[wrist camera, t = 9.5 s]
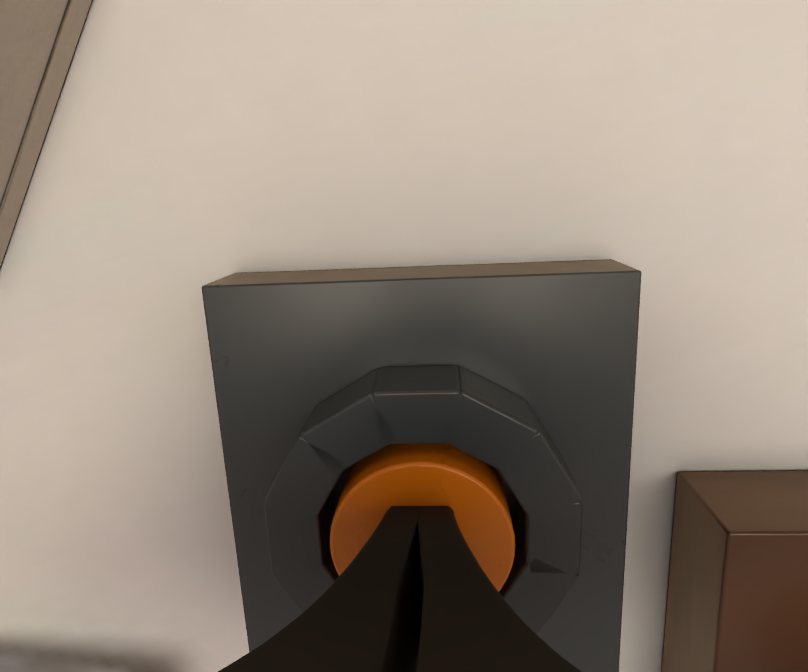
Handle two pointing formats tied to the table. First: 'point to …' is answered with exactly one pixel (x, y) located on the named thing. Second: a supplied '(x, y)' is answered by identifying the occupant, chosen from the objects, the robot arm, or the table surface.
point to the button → (426, 501)
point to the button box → (434, 421)
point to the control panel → (738, 573)
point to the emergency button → (30, 89)
